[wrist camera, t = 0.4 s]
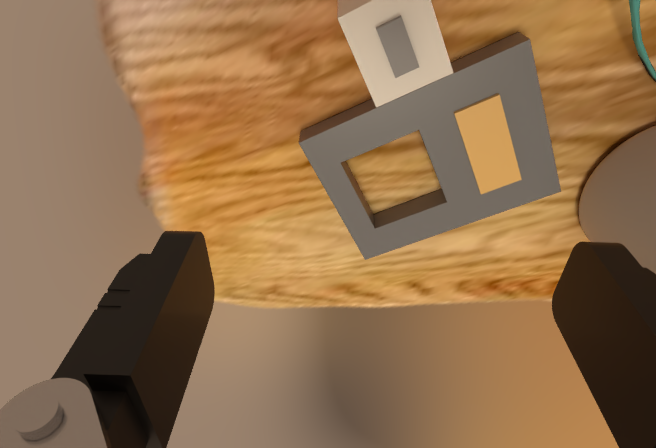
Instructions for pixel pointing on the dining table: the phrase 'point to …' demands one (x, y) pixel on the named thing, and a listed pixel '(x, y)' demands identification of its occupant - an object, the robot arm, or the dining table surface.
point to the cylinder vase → (624, 198)
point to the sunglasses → (640, 37)
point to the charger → (394, 45)
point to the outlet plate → (446, 148)
